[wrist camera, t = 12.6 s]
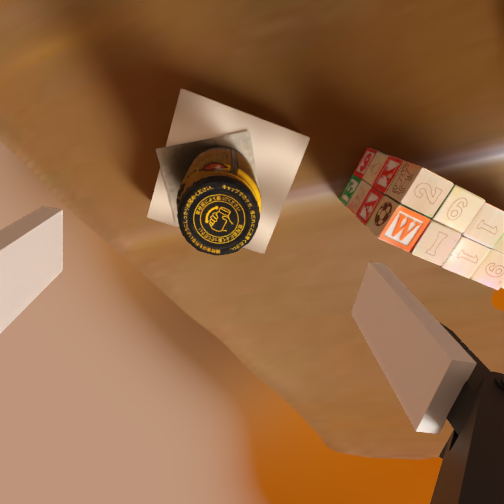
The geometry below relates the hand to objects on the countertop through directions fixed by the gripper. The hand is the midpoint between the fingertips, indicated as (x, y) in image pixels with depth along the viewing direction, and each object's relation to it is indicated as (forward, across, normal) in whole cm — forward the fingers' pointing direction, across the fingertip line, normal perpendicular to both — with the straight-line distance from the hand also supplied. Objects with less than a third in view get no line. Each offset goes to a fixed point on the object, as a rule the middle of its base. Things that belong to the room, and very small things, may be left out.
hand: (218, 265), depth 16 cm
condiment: (+20, -1, -1) cm, 20 cm away
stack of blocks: (+24, +24, -1) cm, 34 cm away
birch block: (+25, 0, 0) cm, 25 cm away
